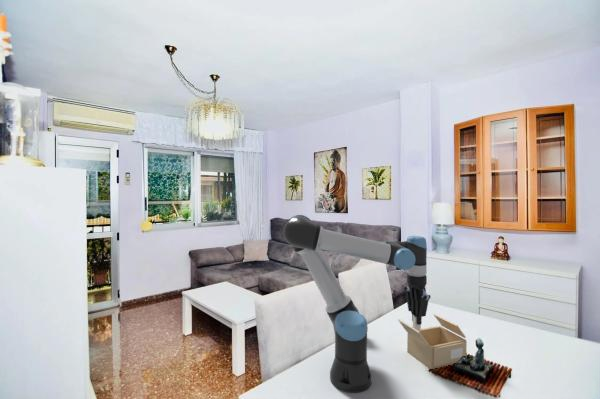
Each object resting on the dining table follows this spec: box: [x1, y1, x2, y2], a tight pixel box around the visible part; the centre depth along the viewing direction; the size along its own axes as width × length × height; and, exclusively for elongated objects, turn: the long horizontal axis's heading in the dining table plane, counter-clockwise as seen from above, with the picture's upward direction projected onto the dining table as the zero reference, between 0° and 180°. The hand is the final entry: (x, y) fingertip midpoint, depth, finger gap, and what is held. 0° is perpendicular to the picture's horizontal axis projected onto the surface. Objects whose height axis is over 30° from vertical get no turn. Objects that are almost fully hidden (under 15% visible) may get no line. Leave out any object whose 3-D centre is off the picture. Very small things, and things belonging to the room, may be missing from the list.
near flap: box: [397, 318, 429, 345], centre depth 123 cm, size 1×12×8 cm
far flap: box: [433, 313, 467, 339], centre depth 129 cm, size 1×12×8 cm
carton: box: [406, 325, 468, 370], centre depth 127 cm, size 18×16×9 cm
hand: (416, 330), depth 123 cm, fingers closed
